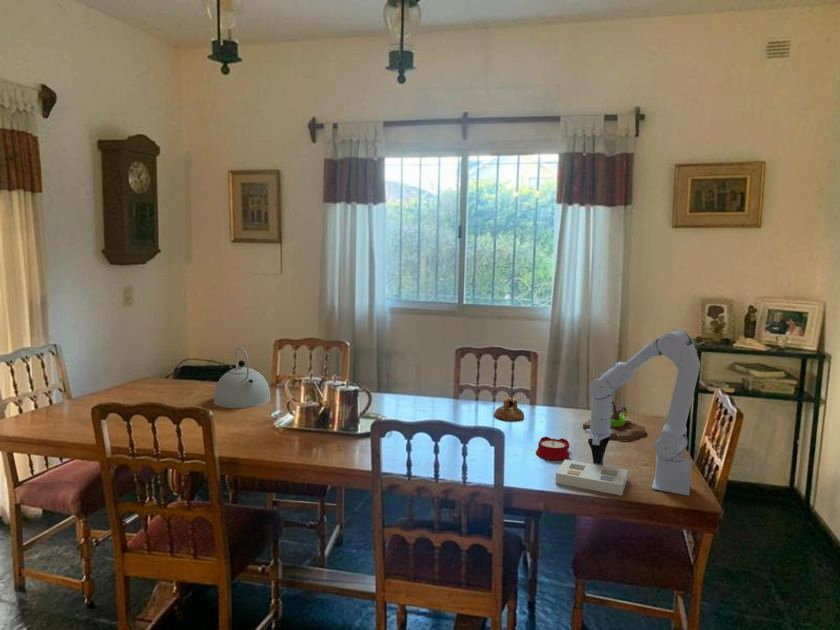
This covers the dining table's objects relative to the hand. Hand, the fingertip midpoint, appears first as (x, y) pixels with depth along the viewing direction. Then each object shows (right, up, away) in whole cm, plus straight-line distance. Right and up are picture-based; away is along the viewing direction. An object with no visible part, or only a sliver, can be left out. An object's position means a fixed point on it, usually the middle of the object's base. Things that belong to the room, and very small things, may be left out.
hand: (598, 461), depth 181 cm
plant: (+17, +1, +38) cm, 41 cm away
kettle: (-127, +8, +68) cm, 145 cm away
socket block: (-5, -4, -10) cm, 11 cm away
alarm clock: (-11, -1, +13) cm, 17 cm away
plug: (0, -2, 0) cm, 2 cm away
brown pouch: (-19, +4, +53) cm, 56 cm away
